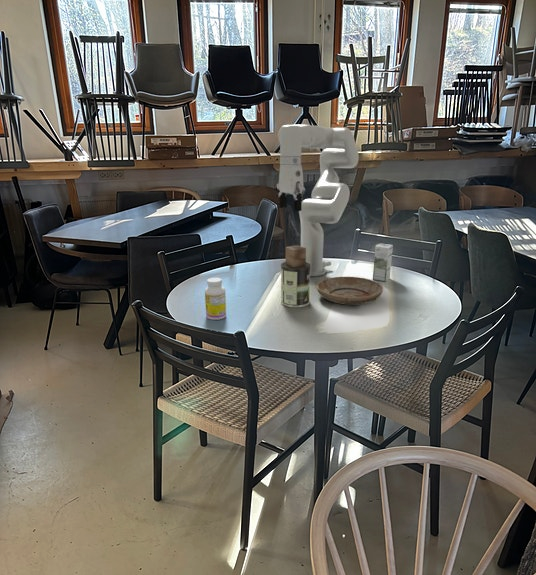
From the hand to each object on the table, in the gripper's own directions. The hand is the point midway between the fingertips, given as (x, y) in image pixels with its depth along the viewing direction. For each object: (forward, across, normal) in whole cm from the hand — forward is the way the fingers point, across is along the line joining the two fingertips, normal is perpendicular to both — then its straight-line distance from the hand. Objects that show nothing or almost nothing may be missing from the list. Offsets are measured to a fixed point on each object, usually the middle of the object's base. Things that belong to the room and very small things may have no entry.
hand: (290, 209), depth 161 cm
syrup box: (+31, -13, -37) cm, 50 cm away
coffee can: (+31, -16, +8) cm, 35 cm away
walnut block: (+16, -16, +8) cm, 24 cm away
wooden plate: (+31, -23, -11) cm, 40 cm away
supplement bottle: (+31, -13, +38) cm, 50 cm away
